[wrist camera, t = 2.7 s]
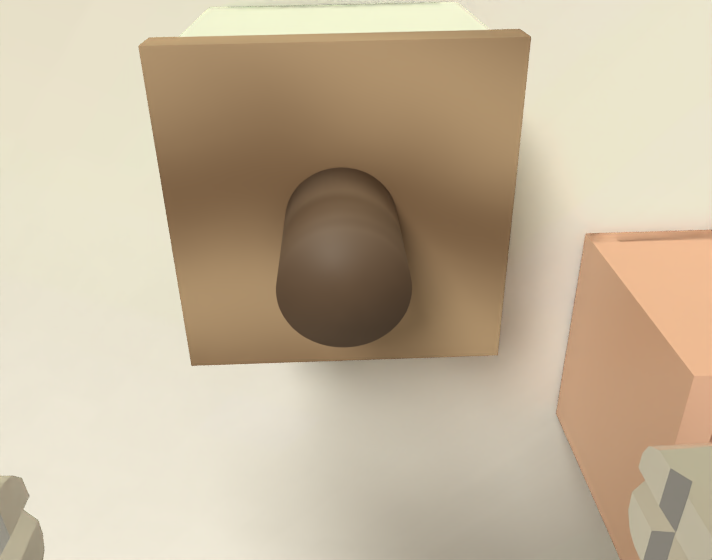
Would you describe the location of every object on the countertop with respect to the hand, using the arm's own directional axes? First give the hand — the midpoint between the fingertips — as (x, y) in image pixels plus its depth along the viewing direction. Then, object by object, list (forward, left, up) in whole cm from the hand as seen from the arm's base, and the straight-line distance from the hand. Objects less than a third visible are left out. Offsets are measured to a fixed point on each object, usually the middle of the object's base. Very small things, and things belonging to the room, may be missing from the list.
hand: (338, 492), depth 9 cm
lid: (0, 0, -10) cm, 10 cm away
